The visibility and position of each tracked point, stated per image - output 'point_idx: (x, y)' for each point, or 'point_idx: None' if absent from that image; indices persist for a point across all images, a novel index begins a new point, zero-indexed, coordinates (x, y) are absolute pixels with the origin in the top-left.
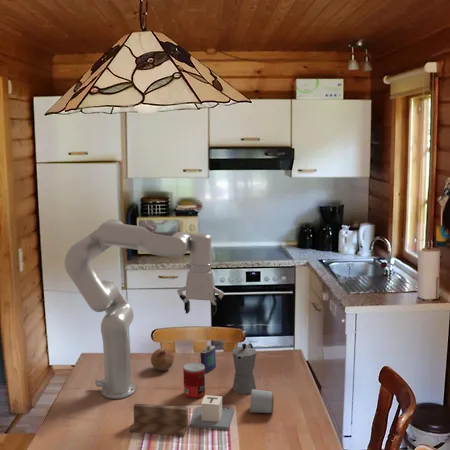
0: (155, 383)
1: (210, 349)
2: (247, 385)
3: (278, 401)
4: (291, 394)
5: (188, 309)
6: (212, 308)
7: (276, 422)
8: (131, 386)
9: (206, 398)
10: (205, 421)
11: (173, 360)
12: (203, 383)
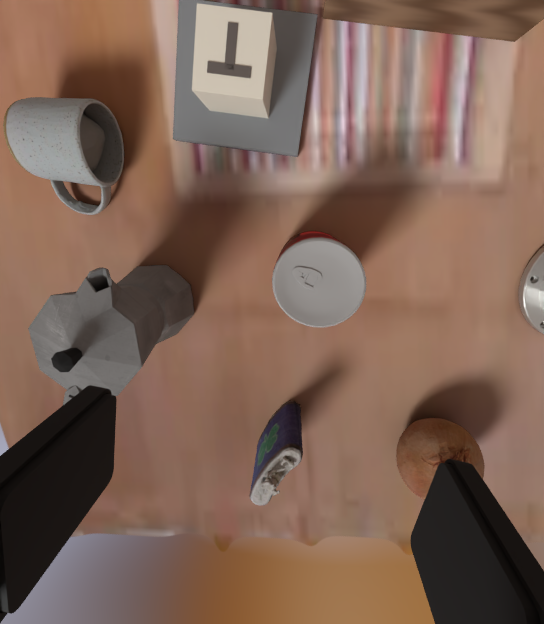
0: (446, 341)
1: (265, 475)
2: (133, 274)
3: (47, 217)
4: (16, 264)
5: (444, 531)
6: (24, 448)
7: (35, 70)
8: (537, 302)
9: (253, 66)
10: None
11: (397, 452)
12: (280, 253)
